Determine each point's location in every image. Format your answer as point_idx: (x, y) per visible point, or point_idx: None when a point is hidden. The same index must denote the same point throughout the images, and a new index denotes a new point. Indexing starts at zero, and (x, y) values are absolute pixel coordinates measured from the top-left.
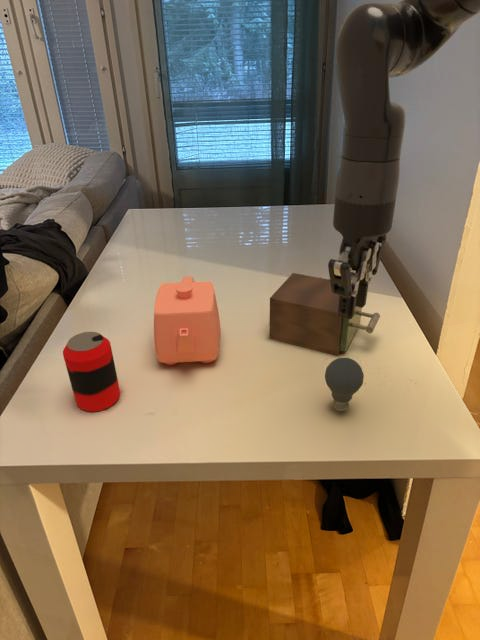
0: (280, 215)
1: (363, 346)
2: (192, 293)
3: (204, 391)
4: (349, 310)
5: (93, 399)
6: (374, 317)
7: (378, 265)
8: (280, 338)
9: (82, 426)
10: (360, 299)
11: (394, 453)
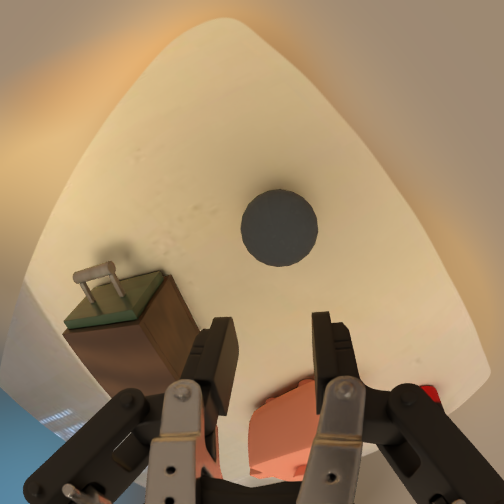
0: (51, 423)
1: (124, 257)
2: (292, 467)
3: (362, 352)
4: (339, 338)
5: (438, 397)
6: (84, 277)
7: (100, 409)
8: None
9: (451, 378)
10: (229, 344)
11: (309, 91)
